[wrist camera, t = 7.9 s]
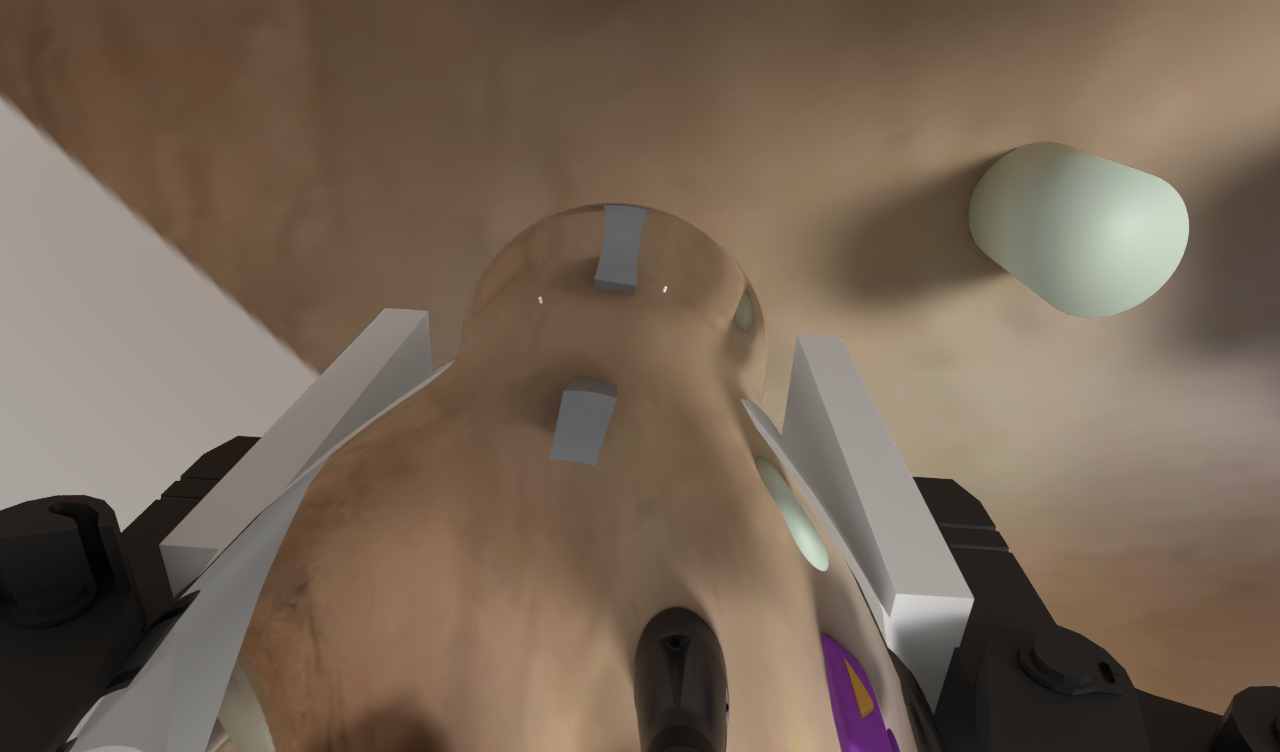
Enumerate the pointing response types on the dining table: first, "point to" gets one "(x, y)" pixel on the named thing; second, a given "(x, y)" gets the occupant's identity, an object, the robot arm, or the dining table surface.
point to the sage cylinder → (1079, 227)
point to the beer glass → (541, 547)
